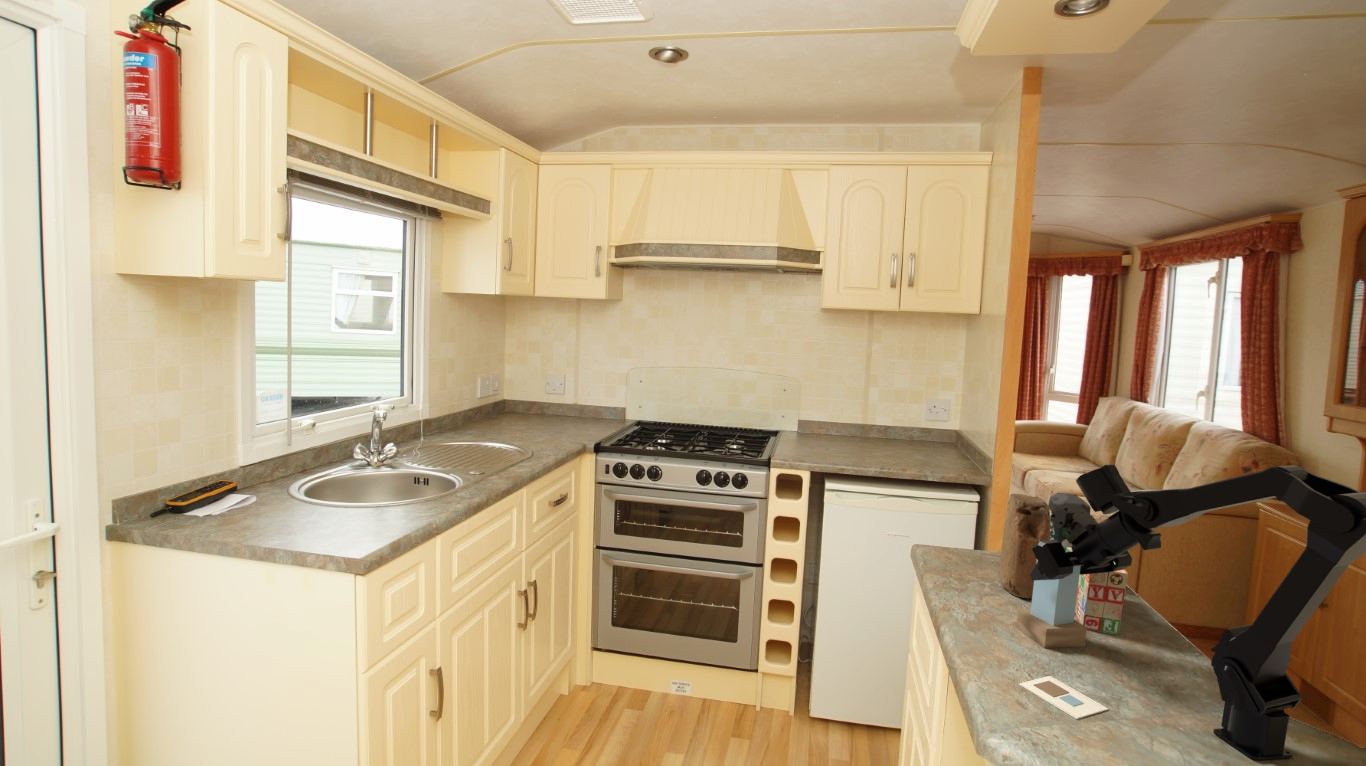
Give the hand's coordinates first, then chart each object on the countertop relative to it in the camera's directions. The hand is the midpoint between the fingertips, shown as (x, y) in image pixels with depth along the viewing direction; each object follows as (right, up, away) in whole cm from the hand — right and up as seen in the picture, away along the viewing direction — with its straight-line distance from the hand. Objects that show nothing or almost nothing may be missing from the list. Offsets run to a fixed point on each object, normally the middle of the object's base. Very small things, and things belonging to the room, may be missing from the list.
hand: (1050, 575), depth 133 cm
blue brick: (0, -8, 0) cm, 8 cm away
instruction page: (-8, -13, -21) cm, 26 cm away
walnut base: (0, -11, 0) cm, 11 cm away
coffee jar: (+18, -8, +31) cm, 36 cm away
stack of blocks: (+14, -11, +13) cm, 22 cm away
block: (+4, -9, +21) cm, 23 cm away
